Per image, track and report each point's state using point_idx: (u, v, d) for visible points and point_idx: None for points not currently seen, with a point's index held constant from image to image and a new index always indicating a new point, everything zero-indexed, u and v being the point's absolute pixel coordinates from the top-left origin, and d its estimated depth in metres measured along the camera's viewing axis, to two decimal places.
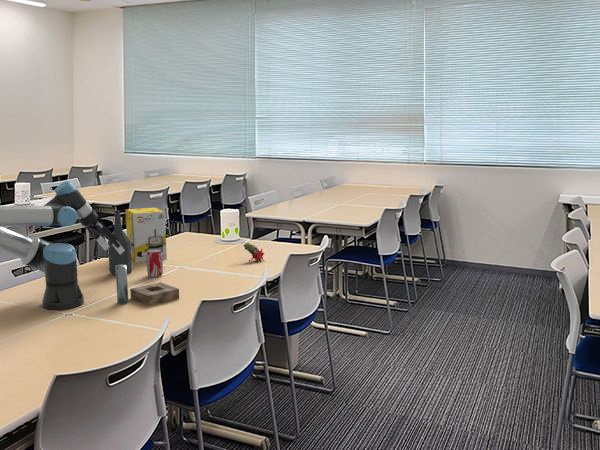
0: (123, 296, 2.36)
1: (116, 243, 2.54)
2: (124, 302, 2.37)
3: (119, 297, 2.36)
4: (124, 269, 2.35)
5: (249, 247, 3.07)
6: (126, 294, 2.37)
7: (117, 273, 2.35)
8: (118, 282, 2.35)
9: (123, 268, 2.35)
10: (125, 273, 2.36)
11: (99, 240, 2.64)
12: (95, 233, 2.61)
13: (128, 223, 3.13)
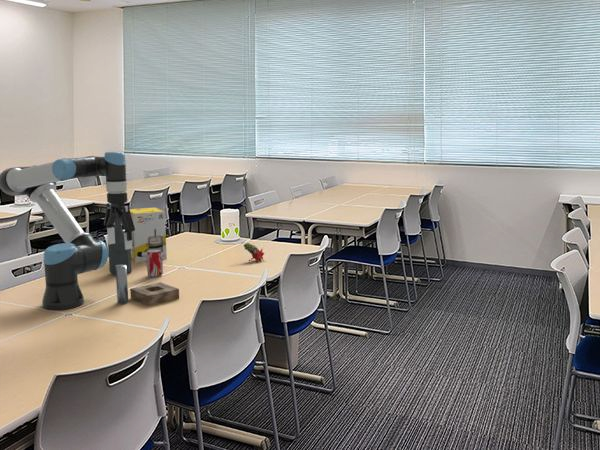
0: (123, 296, 2.36)
1: (129, 235, 2.28)
2: (124, 302, 2.37)
3: (119, 297, 2.36)
4: (124, 269, 2.35)
5: (249, 247, 3.07)
6: (126, 294, 2.37)
7: (117, 273, 2.35)
8: (118, 282, 2.35)
9: (123, 268, 2.35)
10: (125, 273, 2.36)
11: (110, 230, 2.38)
12: (111, 220, 2.37)
13: None
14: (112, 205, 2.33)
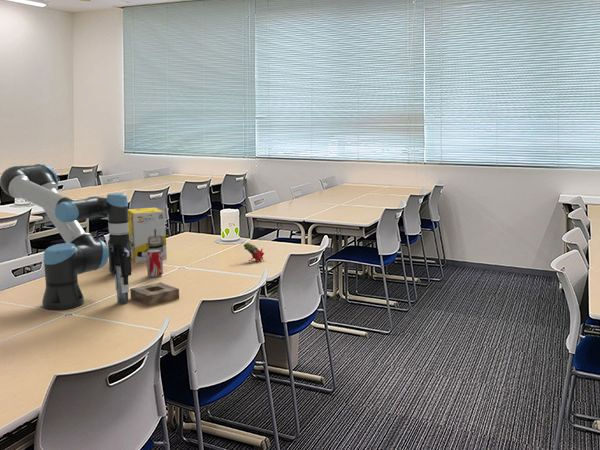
0: (123, 296, 2.36)
1: (126, 279, 2.34)
2: (124, 302, 2.37)
3: (119, 297, 2.36)
4: None
5: (249, 247, 3.07)
6: (126, 294, 2.37)
7: (117, 273, 2.35)
8: (118, 282, 2.35)
9: None
10: None
11: None
12: (117, 263, 2.37)
13: None
14: (114, 244, 2.36)
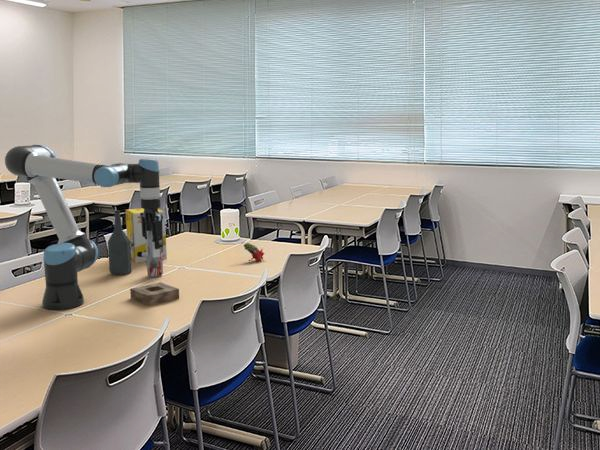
0: (154, 260, 2.40)
1: (157, 243, 2.37)
2: (155, 266, 2.40)
3: (150, 261, 2.40)
4: None
5: (249, 247, 3.07)
6: (157, 258, 2.40)
7: (148, 237, 2.38)
8: (149, 246, 2.38)
9: None
10: None
11: None
12: (148, 228, 2.40)
13: (128, 223, 3.13)
14: (145, 209, 2.39)
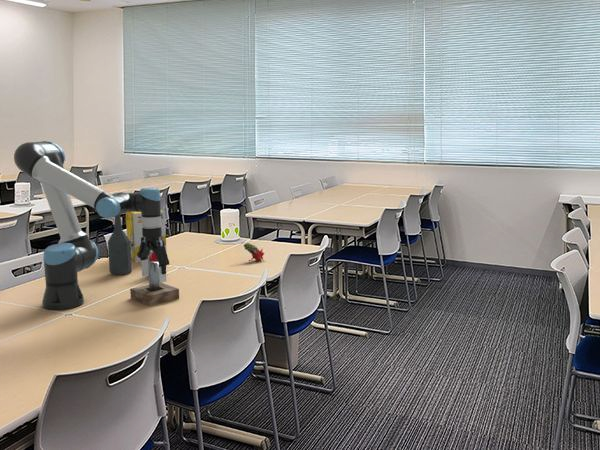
0: None
1: (164, 268, 2.36)
2: None
3: None
4: (156, 266, 2.41)
5: (249, 247, 3.07)
6: None
7: (150, 270, 2.40)
8: (151, 278, 2.41)
9: (155, 265, 2.40)
10: (157, 270, 2.41)
11: (144, 263, 2.46)
12: (145, 253, 2.44)
13: (128, 223, 3.13)
14: (147, 239, 2.41)
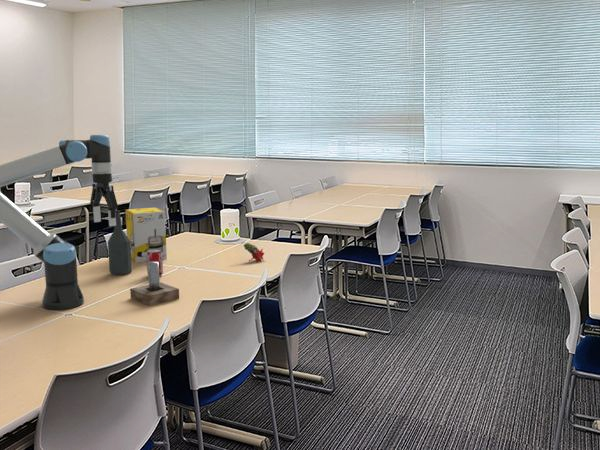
0: None
1: (113, 212, 2.44)
2: None
3: None
4: (156, 266, 2.41)
5: (249, 247, 3.07)
6: None
7: (150, 270, 2.40)
8: (151, 278, 2.41)
9: (155, 265, 2.40)
10: (157, 270, 2.41)
11: (95, 209, 2.54)
12: (97, 199, 2.52)
13: (128, 223, 3.13)
14: (97, 185, 2.49)
